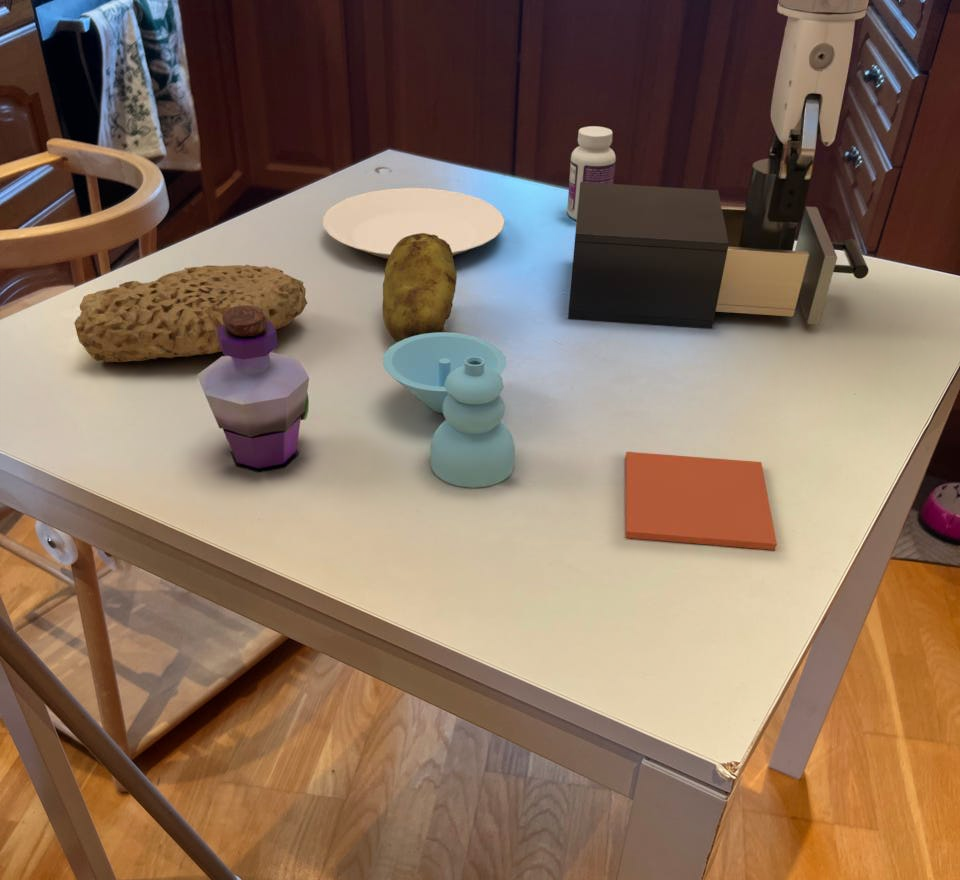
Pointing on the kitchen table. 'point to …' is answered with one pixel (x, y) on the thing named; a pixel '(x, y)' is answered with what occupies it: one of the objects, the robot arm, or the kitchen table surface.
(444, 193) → the plate
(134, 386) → the kitchen table surface
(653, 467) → the mat
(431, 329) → the potato
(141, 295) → the sponge
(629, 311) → the dark brown box
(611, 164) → the pill bottle
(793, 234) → the dark glossy cylinder
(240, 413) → the potion bottle
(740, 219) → the drawer
